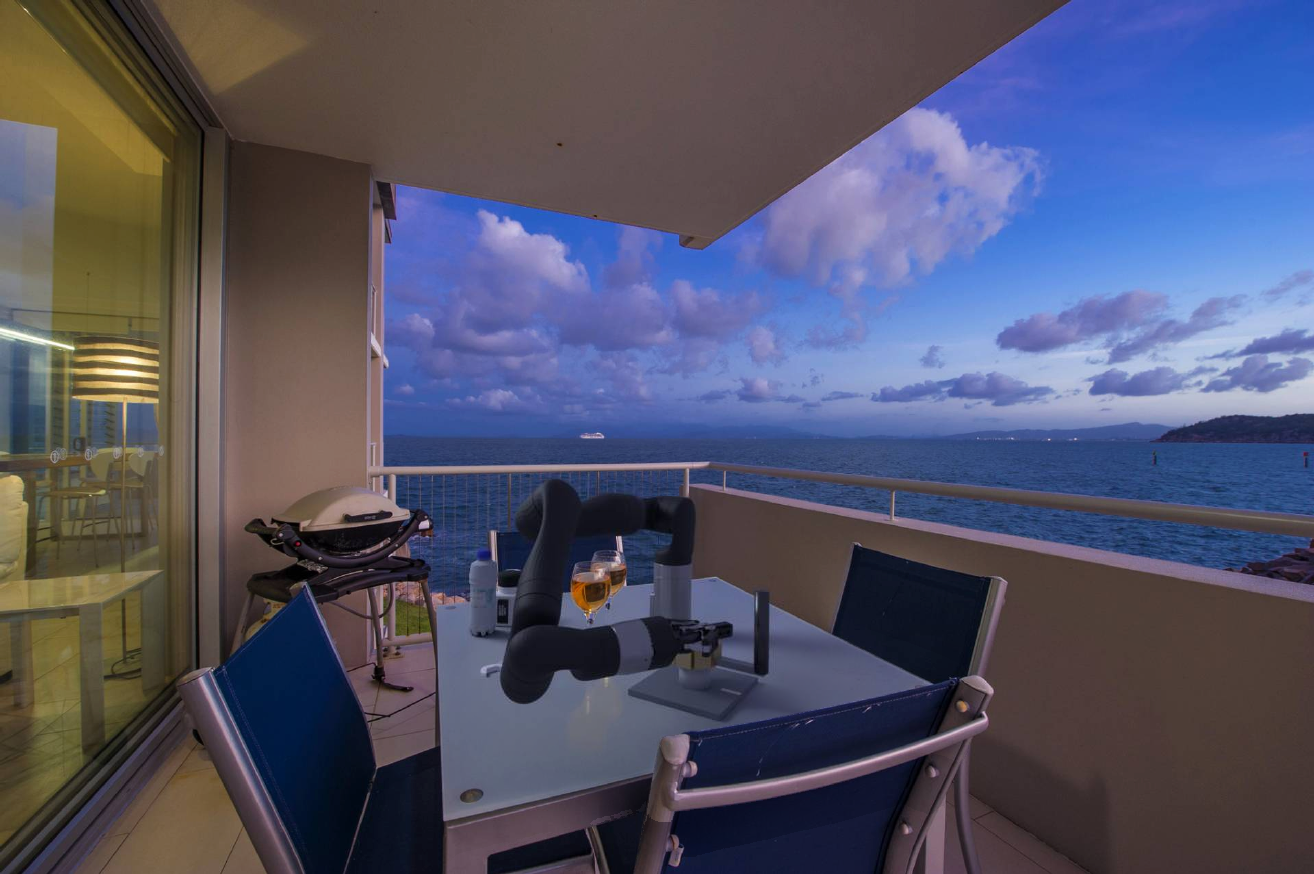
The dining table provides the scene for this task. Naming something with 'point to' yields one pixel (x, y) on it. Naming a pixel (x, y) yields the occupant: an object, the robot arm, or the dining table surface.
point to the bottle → (483, 594)
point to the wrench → (491, 668)
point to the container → (506, 596)
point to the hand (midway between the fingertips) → (730, 628)
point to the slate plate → (695, 689)
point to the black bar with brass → (716, 659)
